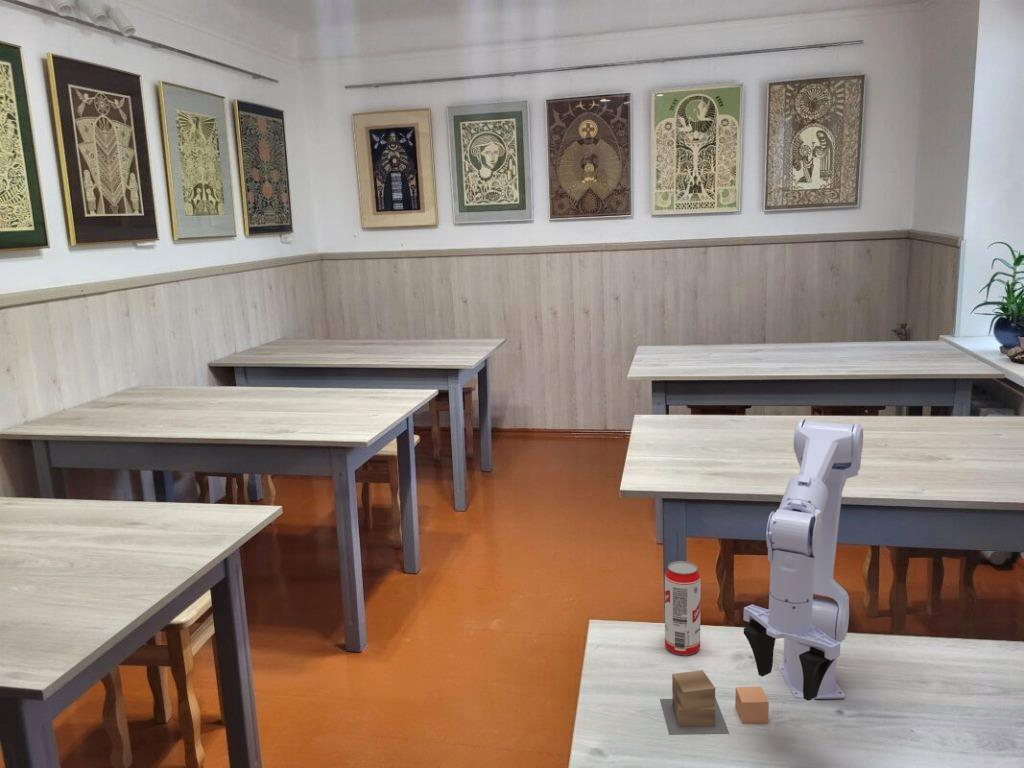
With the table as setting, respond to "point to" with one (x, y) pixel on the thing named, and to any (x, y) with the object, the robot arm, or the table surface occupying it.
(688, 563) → the beer can
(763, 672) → the robot arm
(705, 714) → the slab bottom
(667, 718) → the mat
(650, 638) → the table surface
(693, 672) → the slab top
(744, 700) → the cube
